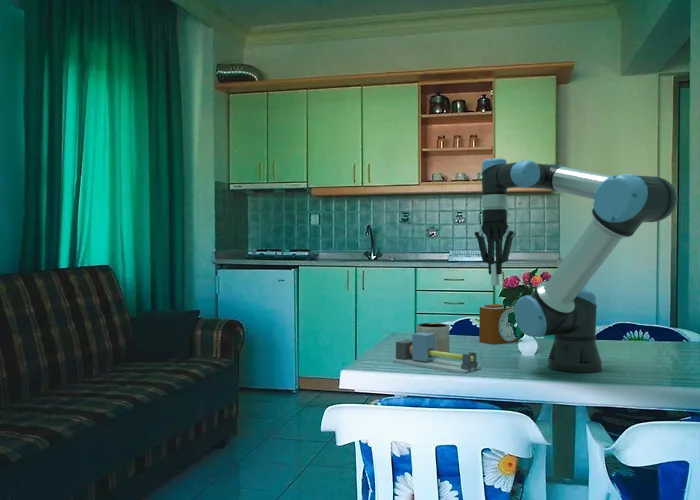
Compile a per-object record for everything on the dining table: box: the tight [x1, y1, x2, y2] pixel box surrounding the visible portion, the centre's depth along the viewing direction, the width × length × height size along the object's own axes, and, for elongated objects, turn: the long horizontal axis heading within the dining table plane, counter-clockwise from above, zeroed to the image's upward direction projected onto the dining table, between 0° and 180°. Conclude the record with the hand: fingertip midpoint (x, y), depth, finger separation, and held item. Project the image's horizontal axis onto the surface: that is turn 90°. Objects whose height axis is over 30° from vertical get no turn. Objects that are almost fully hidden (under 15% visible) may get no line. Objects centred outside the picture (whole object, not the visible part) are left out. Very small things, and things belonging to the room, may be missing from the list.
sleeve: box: [411, 332, 436, 362], centre depth 201 cm, size 5×5×8 cm
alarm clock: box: [478, 303, 519, 345], centre depth 241 cm, size 15×8×14 cm, turn 123°
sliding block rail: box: [392, 339, 482, 374], centre depth 198 cm, size 25×10×6 cm, turn 50°
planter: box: [416, 322, 450, 358], centre depth 217 cm, size 11×11×10 cm
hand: (495, 285), depth 204 cm, fingers closed
